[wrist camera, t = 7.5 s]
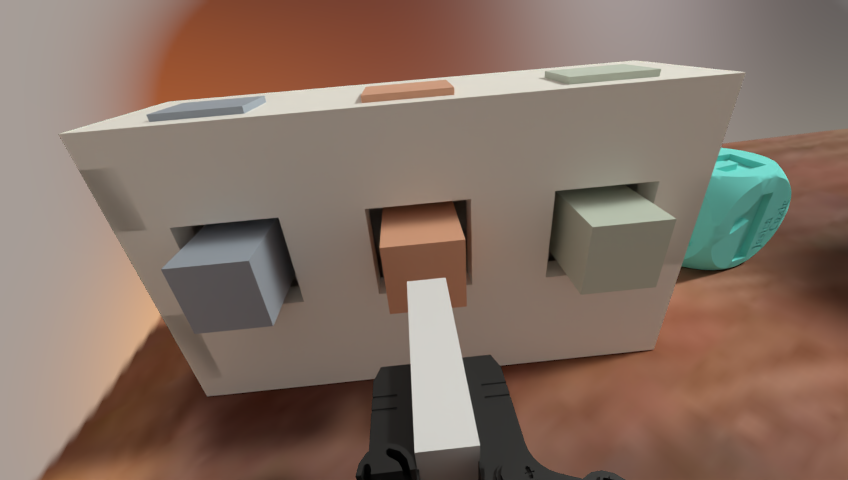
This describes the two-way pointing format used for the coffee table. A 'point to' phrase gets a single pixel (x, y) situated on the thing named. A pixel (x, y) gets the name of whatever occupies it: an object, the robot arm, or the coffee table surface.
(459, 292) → the terracotta button
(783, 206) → the decorative dice
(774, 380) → the coffee table surface
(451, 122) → the button box
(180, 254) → the slate button
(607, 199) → the sage button
